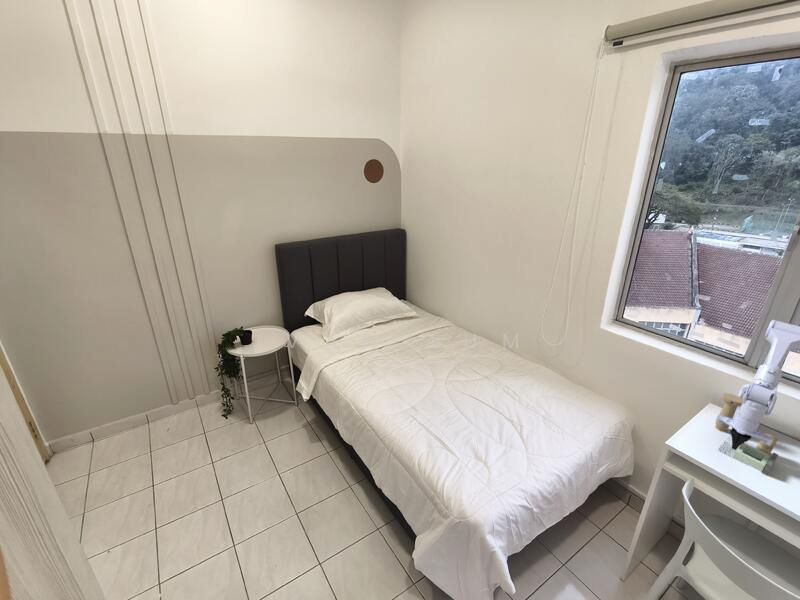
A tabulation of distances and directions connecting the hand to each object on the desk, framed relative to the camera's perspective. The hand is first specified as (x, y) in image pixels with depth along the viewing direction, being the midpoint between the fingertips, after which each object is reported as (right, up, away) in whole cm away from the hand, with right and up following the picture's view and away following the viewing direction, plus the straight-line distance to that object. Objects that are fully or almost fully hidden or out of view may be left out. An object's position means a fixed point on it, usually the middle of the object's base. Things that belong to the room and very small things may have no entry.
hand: (734, 448), depth 128 cm
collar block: (+3, -3, -3) cm, 5 cm away
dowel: (+9, -2, 0) cm, 9 cm away
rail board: (+4, -3, 0) cm, 5 cm away
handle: (+4, +2, +11) cm, 12 cm away
